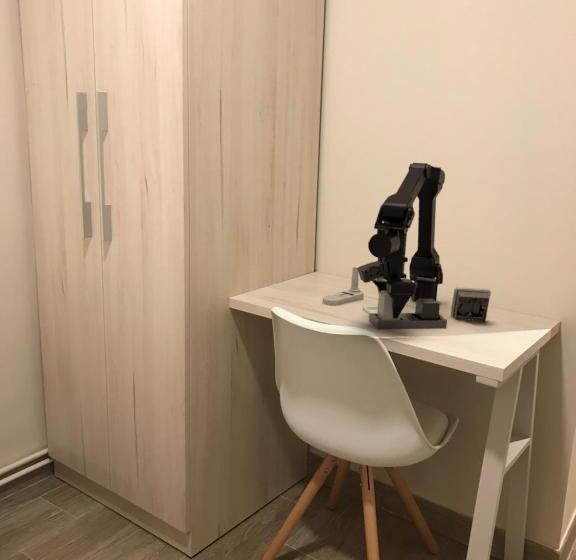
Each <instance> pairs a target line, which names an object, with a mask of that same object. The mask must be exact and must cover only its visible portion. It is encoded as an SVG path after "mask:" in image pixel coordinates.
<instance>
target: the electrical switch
mask: <svg viewBox="0 0 576 560" xmlns="http://www.w3.org/2000/svg"><path fill="white" fill-rule="evenodd" d="M491 295H492V292H491V289H489V288H481V287H465V286H464V287H463V286H462V287H461V286H460V287H459V286H456V287H455V288H454V289H453V297H452V304H451V309H450V317H453V318H454V320H455V321H456V320H457V319H462V320H463V321H464V322H466V323H474V324H477V323H478V324H485V323H486V319H487V316H488V314H487V313H488V308H489V304H490V303H489V302H490V297H491Z"/></svg>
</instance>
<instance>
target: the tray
mask: <svg viewBox="0 0 576 560" xmlns="http://www.w3.org/2000/svg"><path fill="white" fill-rule="evenodd" d="M361 310H362V311H364V312H365V314H366V315H368V316H369V314H370V313H378V305H370V306H369V305H368V306H365V305H364V306H363V305H362V308H361ZM401 313H403V311H402V312H401Z"/></svg>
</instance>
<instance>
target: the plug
mask: <svg viewBox="0 0 576 560" xmlns="http://www.w3.org/2000/svg"><path fill="white" fill-rule="evenodd" d="M377 306H378V313H377V317H378V318H379V319H380V320H381V321H394V320H400V315H401V313H400V315H399V317H398V318H397V319H394V318H393V315H392V301H391V297H390V296H389V295H388V294H387V292H386V291H381V292H379V293H378V300H377Z"/></svg>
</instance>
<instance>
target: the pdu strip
mask: <svg viewBox="0 0 576 560" xmlns="http://www.w3.org/2000/svg"><path fill="white" fill-rule="evenodd" d="M438 302H439V301H437V300H436V301H435V300H433V299H416V302H415V308H414V309H415V310H414V313H413V312H411V313H410V312H405V313H404V312H402V313H401V315H400V320H394V321H381V320H380V319H379V318H378V317H377V313H370V314H369V315H368V317H369V318H368V321H369V323H370V324H371V325H372V326H374V328H375V329H376V330H412V329H413V330H417V329H418V330H419V329H420V330H422V329H423V330H425V329H426V330H428V329H429V330H430V329H433V330H434V329H435V330H436V329H447V327H448V326H447V325H448V319H446V318H444V315H443V314H442V313H440V306H441V303H440V302H439V303H438Z"/></svg>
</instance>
